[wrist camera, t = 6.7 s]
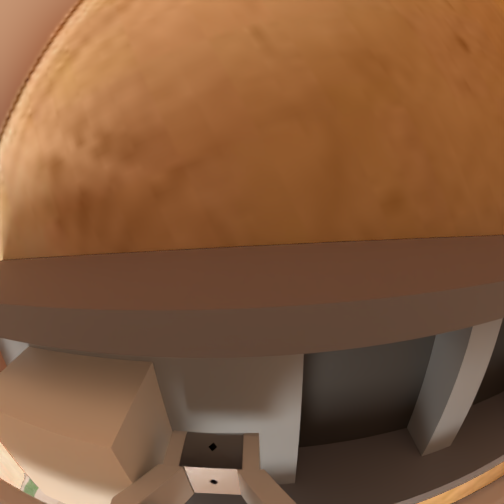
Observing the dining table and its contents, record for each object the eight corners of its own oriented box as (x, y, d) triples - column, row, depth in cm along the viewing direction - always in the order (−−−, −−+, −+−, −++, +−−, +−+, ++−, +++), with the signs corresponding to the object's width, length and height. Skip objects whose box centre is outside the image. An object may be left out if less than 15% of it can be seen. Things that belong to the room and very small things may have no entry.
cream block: (152, 362, 9) (110, 448, 5) (183, 462, 11) (168, 532, 7) (28, 346, 9) (-26, 398, 5) (75, 441, 11) (45, 495, 7)
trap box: (551, 233, 11) (611, 255, 6) (505, 394, 14) (541, 434, 9) (2, 260, 12) (-70, 295, 6) (68, 432, 15) (37, 486, 9)
